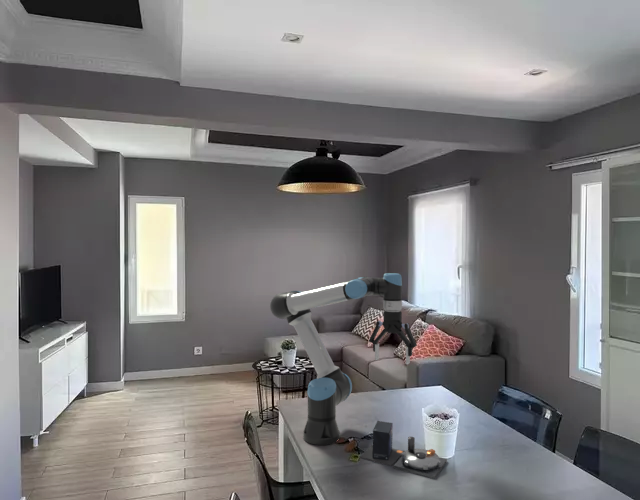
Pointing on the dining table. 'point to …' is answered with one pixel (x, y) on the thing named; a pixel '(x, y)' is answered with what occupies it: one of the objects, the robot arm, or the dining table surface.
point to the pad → (390, 462)
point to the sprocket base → (426, 473)
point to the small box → (382, 440)
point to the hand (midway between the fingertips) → (392, 361)
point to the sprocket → (420, 457)
